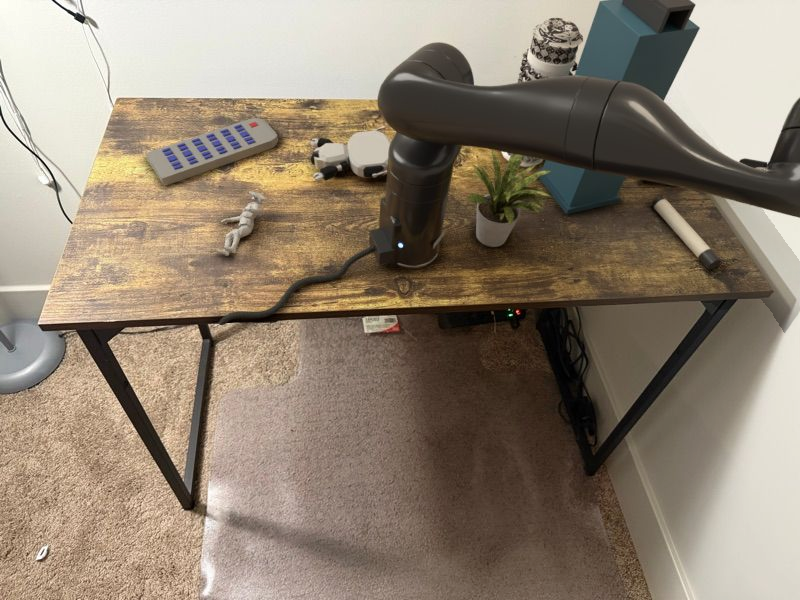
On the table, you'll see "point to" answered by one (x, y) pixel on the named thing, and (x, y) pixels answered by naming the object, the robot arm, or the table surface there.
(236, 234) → the soldier figure
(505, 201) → the house plant
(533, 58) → the decorative candle
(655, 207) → the cylinder
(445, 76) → the robot arm
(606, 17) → the teal tall rectangular block
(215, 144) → the remote control
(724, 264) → the table surface
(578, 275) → the table surface
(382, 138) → the robot toy
